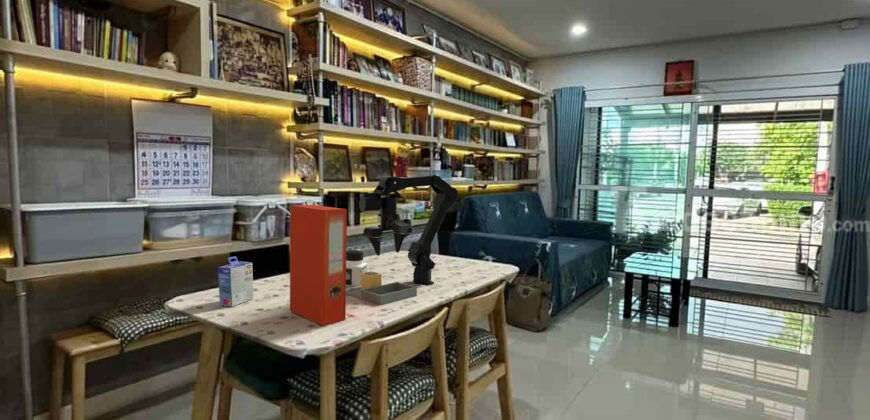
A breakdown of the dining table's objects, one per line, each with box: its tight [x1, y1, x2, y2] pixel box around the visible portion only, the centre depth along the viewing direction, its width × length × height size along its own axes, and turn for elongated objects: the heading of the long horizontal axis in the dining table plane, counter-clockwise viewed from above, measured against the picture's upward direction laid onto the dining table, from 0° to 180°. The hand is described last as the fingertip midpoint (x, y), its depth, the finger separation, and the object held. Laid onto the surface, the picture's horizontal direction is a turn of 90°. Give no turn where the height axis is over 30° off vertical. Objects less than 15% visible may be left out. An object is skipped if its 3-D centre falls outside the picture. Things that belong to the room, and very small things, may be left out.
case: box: [360, 281, 418, 306], centre depth 156 cm, size 16×11×4 cm, turn 137°
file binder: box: [289, 204, 348, 326], centre depth 136 cm, size 8×17×32 cm, turn 46°
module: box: [361, 271, 382, 290], centre depth 162 cm, size 5×5×6 cm
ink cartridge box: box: [217, 255, 254, 308], centre depth 148 cm, size 10×6×14 cm, turn 161°
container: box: [346, 248, 368, 288], centre depth 174 cm, size 8×8×13 cm
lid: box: [346, 286, 361, 299], centre depth 163 cm, size 16×10×2 cm, turn 137°
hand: (388, 253), depth 169 cm, fingers open, 9 cm apart
